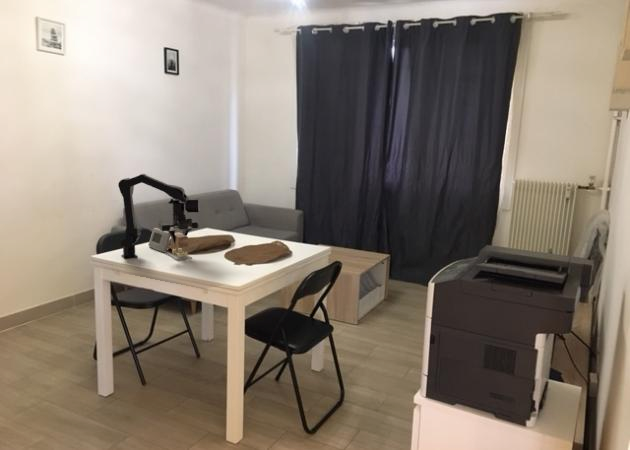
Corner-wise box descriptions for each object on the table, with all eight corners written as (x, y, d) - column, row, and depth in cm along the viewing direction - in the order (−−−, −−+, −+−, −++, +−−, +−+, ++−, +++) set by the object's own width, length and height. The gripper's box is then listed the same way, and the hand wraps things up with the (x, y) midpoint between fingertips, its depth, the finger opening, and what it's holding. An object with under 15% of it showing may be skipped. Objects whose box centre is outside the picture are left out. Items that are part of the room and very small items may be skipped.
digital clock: (147, 247, 276) (146, 228, 274) (164, 245, 281) (163, 226, 279) (156, 253, 263) (156, 234, 261) (173, 251, 268) (173, 232, 266)
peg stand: (168, 254, 261) (168, 249, 261) (183, 253, 266) (183, 247, 265) (176, 260, 251) (176, 254, 251) (191, 258, 256) (191, 252, 255)
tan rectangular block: (171, 242, 261) (170, 233, 260) (179, 241, 263) (179, 232, 262) (179, 247, 251) (178, 237, 250) (187, 246, 254) (187, 236, 252)
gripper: (165, 216, 242) (166, 248, 245) (202, 213, 252) (202, 243, 256) (158, 212, 251) (159, 243, 254) (194, 209, 261) (194, 239, 265)
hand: (179, 242), depth 257 cm, fingers closed on tan rectangular block, 4 cm apart
